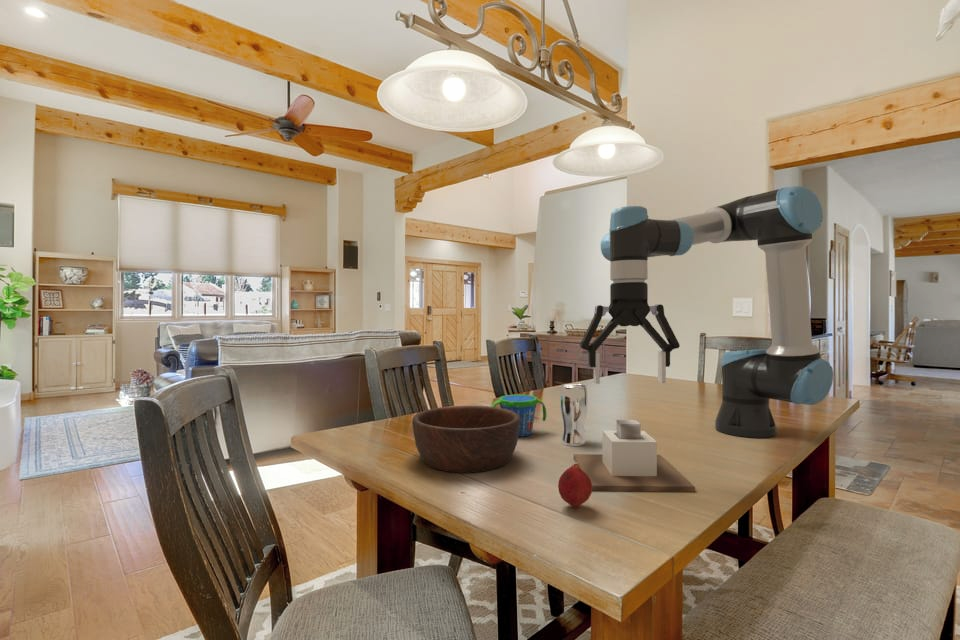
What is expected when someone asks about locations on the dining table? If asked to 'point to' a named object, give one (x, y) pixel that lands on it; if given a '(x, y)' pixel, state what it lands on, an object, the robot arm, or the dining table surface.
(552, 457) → the dining table surface
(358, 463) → the dining table surface
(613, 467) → the white square sleeve
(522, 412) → the snack cup
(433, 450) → the wooden bowl
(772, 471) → the dining table surface
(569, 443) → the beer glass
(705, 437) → the dining table surface
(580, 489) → the onion
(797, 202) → the robot arm
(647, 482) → the post base
